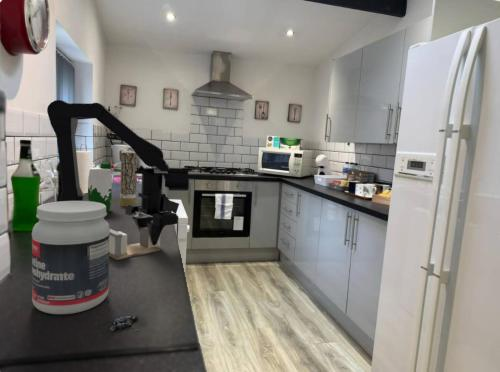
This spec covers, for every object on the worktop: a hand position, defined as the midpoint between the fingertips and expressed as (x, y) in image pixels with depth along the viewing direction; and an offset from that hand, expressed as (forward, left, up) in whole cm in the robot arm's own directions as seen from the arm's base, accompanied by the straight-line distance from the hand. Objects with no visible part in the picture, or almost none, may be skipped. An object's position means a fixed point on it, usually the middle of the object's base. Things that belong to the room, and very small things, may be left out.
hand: (150, 243), depth 100 cm
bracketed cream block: (-10, 0, -1) cm, 10 cm away
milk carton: (+11, +55, -2) cm, 56 cm away
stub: (0, 0, -1) cm, 1 cm away
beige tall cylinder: (+26, +59, -2) cm, 64 cm away
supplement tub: (-29, -20, -2) cm, 36 cm away
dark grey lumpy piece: (-26, -34, -2) cm, 43 cm away
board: (-6, 0, -1) cm, 6 cm away
